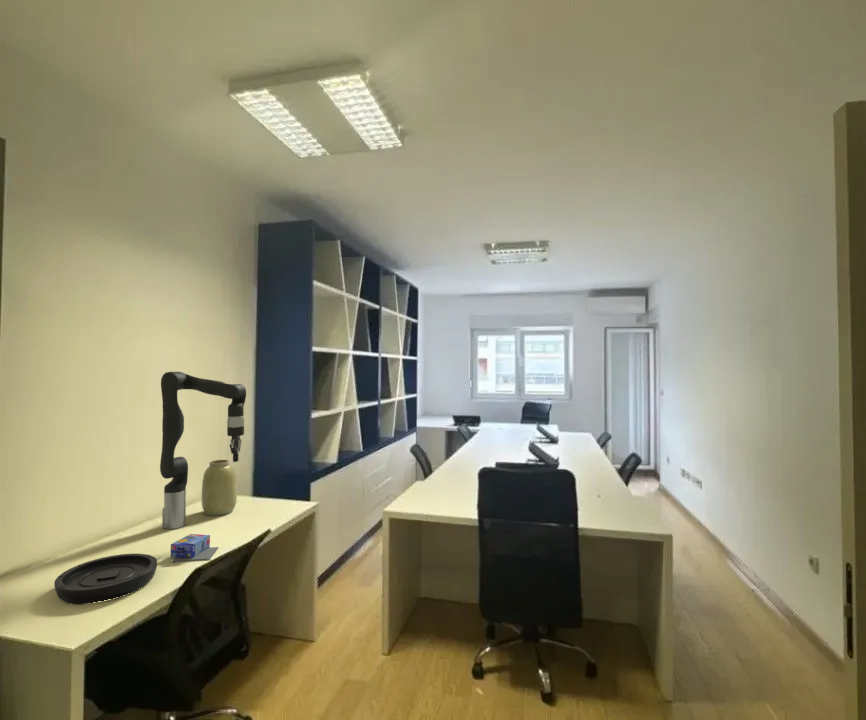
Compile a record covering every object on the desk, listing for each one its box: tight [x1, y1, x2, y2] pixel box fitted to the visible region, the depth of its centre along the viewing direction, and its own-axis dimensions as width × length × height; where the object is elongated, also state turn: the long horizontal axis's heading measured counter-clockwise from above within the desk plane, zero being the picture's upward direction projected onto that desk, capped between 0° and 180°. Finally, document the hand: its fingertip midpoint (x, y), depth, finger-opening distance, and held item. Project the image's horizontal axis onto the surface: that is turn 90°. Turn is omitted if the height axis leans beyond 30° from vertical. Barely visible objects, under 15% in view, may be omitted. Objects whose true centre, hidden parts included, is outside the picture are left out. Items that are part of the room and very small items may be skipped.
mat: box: [171, 546, 219, 563], centre depth 193 cm, size 14×12×1 cm
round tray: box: [53, 553, 158, 605], centre depth 167 cm, size 30×6×30 cm
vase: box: [201, 459, 238, 517], centre depth 250 cm, size 17×17×27 cm
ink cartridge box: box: [170, 533, 211, 558], centre depth 194 cm, size 10×6×14 cm
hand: (235, 461), depth 225 cm, fingers closed
